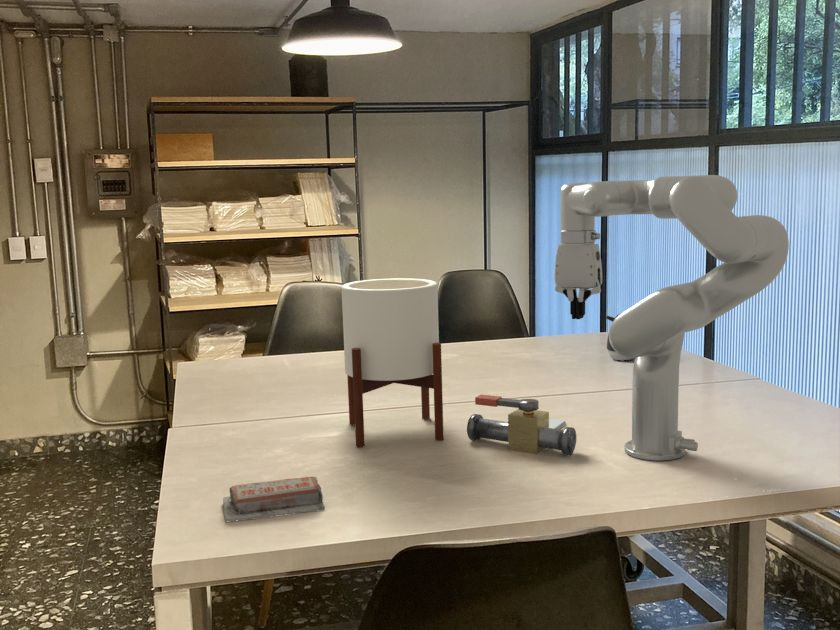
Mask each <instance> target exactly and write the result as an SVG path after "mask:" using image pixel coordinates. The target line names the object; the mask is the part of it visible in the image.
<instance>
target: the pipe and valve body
mask: <svg viewBox="0 0 840 630" xmlns="http://www.w3.org/2000/svg"><path fill="white" fill-rule="evenodd" d="M549 413H550V412H549V411H544V410H539V409H538V410H535V411H522V410H519V409H518V408H517V409H516V410H514V411H512V412H510V413H508V414H507V421H503V420H494V419H488V418H483V415H481V414H480V413H479V414H478V413H473V414H472V415H470V416H469V419H468V421H467V427H466V434H467V438H468V439H469V440H471V441H476V442H477V441H479V440H480V439H484V440H485V439H487V440H492V441H499V442H505V443H508V451H516V452H520V453H521V452H522V453H526V454H534V455H539V454H540V453H542V452H544V451H545V450H546V449H551V450H558V451H561V454H562V455H563V456H572V455H573V453H574V452H575V449H576V447H577V446H576V445H577V431H576V428H574V427H572V426H564V428H563V429H561V428H560V429H553V428H549V419H550V414H549Z"/></svg>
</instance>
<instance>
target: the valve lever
mask: <svg viewBox="0 0 840 630" xmlns="http://www.w3.org/2000/svg"><path fill="white" fill-rule="evenodd" d="M474 403H475V405H477V406H484V407H485V406H487V407H494V408H496V407H504V408H505V407H506V408H516V409H517V410H518V409H519V410H522V411H535V410H538V411H539V410H540V409H539V400H538V399H534V398H522V399H516V398H507V397H506V398H505V397H502V396H499V395H498V396H497V395H490V394H489V395H488V394H479V395H477V396H475V398H474Z"/></svg>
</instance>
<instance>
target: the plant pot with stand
mask: <svg viewBox="0 0 840 630" xmlns="http://www.w3.org/2000/svg"><path fill="white" fill-rule="evenodd" d="M438 289H439V287H438V283H437V282H436V281H435V280H431V279H427V278H426V279H425V278H410V277H409V278H407V277H406V278H405V277H404V278H402V277H401V278H400V277H399V278H398V277H395V278H375V279H364V280H356V281H352V282H351V281H350V282H347V283H344V284H343V285H342V286H341V305H342V307H341V308H342V330H343V351H344V352H343V353H344V372H345V375H347V397H348V400H347V401H348V415H349V416H348V420H349V422H348V423H349V425H350V424H355V425H354V433H355V434H354V435H355V447H356V446H357V447H356V448H364V447H365V445H366V444H365V443H366V442H365V424H364V423H365V422H364V421H365V420H364V419H365V418H364V401H363V399H364V398H363V397H364V394H366V393H369V392H372V391H375V390H378V389H380V388H384V387H386V386H389V385H391V384H392V385H393V384H396V385H397V384H399V385H404V386H405V385H406V386H412V387H418V388H419V387H420V395H421V399H420V400H421V419H422V420H430V419H431V415H430V414H431V413H430V411H431V410H430V389H433V407H434V409H433V410H434V411H433V412H434V440H435V441H439V442H440V441H444V409H443V406H444V404H443V371H442V369H443V367H442V366H443V365H442V363H443V362H442V342H440V336H439V335H440V330H439V328H440V326H439V299H438V298H439V297H438V295H439V294H438V292H439V291H438ZM363 446H364V447H363Z"/></svg>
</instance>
